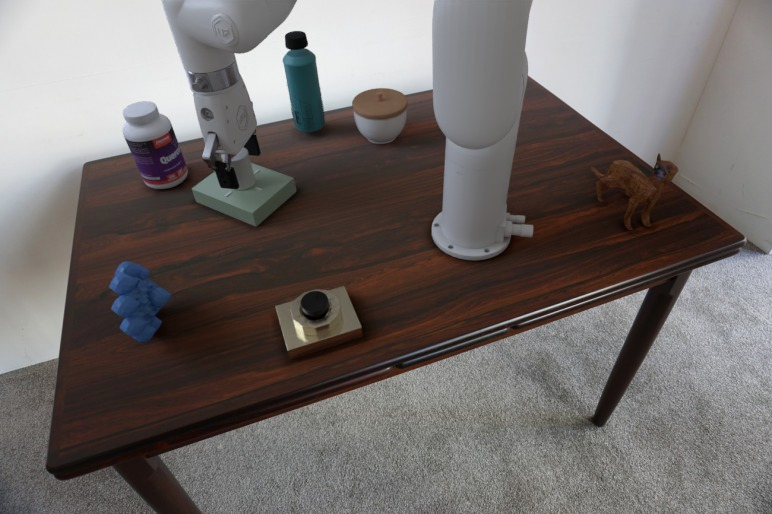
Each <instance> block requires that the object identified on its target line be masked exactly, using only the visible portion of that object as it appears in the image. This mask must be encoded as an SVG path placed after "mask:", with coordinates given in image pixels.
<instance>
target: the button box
mask: <svg viewBox="0 0 772 514" xmlns="http://www.w3.org/2000/svg"><path fill="white" fill-rule="evenodd" d="M312 291H320V292H323V293H324V294H326V296H327V297H328V301H329V308H330V309H329V312H328V314H327V315H326V316H325V317H323V318H322V319H319V320H310V319H308V318H306V317H305V316H304V315H303V312H302V308H301V299H302V297H303V296H304V295H305V294H307V293H309V292H312ZM274 308H275V312H276V316H277V318H278V321H279V326H280V329H281V333H282V336H283V340H284V344H285V346H286V351H287V354H288V357H289V358H288V359H289V360H290V361H292V360H295V359H298V358H301V357H304V356H307V355H311V354H314V353H317V352H320V351H324V350H327V349H330V348H333V347H336V346H339V345H342V344H343V345H344V344H346V343H349V342H352V341H356V340H358V339H362V338H363V337H364V334H363V327H362V324H361V322H360V319H359V317H358V315H357V313H356V310H355V308H354V306H353V302H352V301H351V298H350V296H349V294H348V291H347V288H346V286H345V285H342V286H338V287H335V288H332V289H320V288H315V289H311V290H307V291H304V292H302V293H300V295H299V296H297V297H296V298H295V299H293V300H291V301H286V302H284V303H280V304H277V305H275V306H274Z"/></svg>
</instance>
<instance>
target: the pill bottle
mask: <svg viewBox="0 0 772 514" xmlns="http://www.w3.org/2000/svg"><path fill="white" fill-rule="evenodd" d="M122 116H123V118H124V120H125V123H124V124H123V126H122V135H123V137H124V140H125V142H126V144H127V147H128V149H129V151H130V153H131V155H132V158H133V160H134V163H135V164H136V167H137V169H138V171H139V174H140V176H141V179H142V180H143V182H144V184H145V185H146V186H147V187H148V188H151V189H154V190H166V189H167V190H168V189H171V188H174V187H177V186H178V185H179V184H182V183H183V182H184V181H185V180H186V178H187V177H188V174H189V169H188V165H187V163H186V161H185V157H184V155H183V152H182V149H181V147H180V144H179V141H178V138H177V135H176V133H175V130H174V127H173V124H172V122H171V119H170V118H169V117H168V116H166V115H165V114H163V113H160V111H159V108H158V106H157V104H156V103H155V102H153V101H150V100H141V101H137V102H134V103H130V104H129V105H127V106H126V107H124V108H123V110H122Z"/></svg>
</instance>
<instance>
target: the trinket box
mask: <svg viewBox="0 0 772 514" xmlns="http://www.w3.org/2000/svg"><path fill="white" fill-rule="evenodd" d="M351 103H352V104H351V105H352V106H351V107H352V110H353V119H354V123H355V126H356V128H357V130H358V131H359V133H360V134H361V135H362V136H363V137H364V138H365V139H366V140H367V141H368V142H370V143H372V144H375V145H385V144H389V143H392V142H393V141H395V140H396V139H397V137H398V136H399V135H400V134H401V133H402V132H403V130H404V128H405V126H406V123H407V115H408V106H409V105H408V103H409V101H408V97H407V96H406V95H405V94H404V93H403V92H401V91H399V90H397V89H394V88H388V87H387V88H386V87H376V88H371V89H366V90H364V91H361V92H359V93H358V94H356V95H355V96H354V97H353V99H352V102H351Z"/></svg>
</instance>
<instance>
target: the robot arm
mask: <svg viewBox="0 0 772 514" xmlns="http://www.w3.org/2000/svg"><path fill="white" fill-rule="evenodd" d="M297 1H298V0H161V5H162V7H163V11H164V14H165V16H166V20H167V23H168V26H169V28H170V32H171V35H172V38H173V41H174V44H175V47H176V51H177V53H178V56H179V58H180V63H181V65H182V68H183V71H184V74H185V77H186V80H187V83H188V86H189V89H190V91H191V92H192V97H193V103H194V107H195V108H194V109H195V113H196V117H197V121H198V125H199V129H200V132H201V135H202V137H203V141H204V144H205V145H204V149H203V152H202V158H201V159H202V161H203V162H204V163H205V164H206V165H207V167H208V168H209V169H211V170H212V171H214V172H215V173H216V176H217V179H218V182H219V185H220V187H221V188H226V189H238V188H239V183H238V179H237V176H236V173H235V170H234V167H231V156H232V154H233V155H236V154H238V153H239V152H240V151H241V149H242V148H243V147H244V148H246V149H247V150H248V154H249V157H250V156H251V157H253V156H254V157H259V156H260V155H261V153H262V151H261V148H260V144H259V140H258V136H257V127H258V121H257V116H256V114H255V110H254V103H253V101H252V100H251V98H250V94H249V92H248V88H247V86H246V83H245V81H244V78H243V77H242V75H241V73H240V70H239V66H238V62H237V58H236V55H237V54H238V55H241V54H246V53H249V52H251V51H253V50H254V49H256V48H257V47H259V45H260V44H261V43H262V42H264V41H265V40H266V39H267V38H268V36H270V35H271V34H273V32H274V31H275V30H276V29H278V28H279V27H280V26H281V25H282V24H283V23H284V22H286V20H287V19H288V17H289V16H290V14H291V13H292V11H293V10H294V7H295V5H296V3H297ZM533 1H534V0H434V2H433V8H432V9H433V10H432V19H431V20H432V21H431V47H432V49H431V50H432V51H431V52H432V57H431V58H432V105H433V106H432V107H433V112H434V117H435V120H436V124H437V125H438V127H439V129H440V131H441V132H442V133H443V135H444V136H445V149H444V150H445V151H444V153H445V154H444V171H443V187H442V189H443V190H442V207H441V208H442V209H441V211H440V212H439V213H437V215H436V216H435V218H434V219H433V221H432V223H431V237H432V240H433V242H434V244H435V245H436V246H437V248H439V249H440V250H441V251H442V252H443V253H445V254H446V255H449V256H451V257H453V258H456V259H460V260H465V261H485V260H488V259H492V258H494V257H496V256H498V255H500V254H501V253H503V252H504V251H505V250H507V248H508V246H509V245H510V242H511V239H512V236H518V237H520V238H521V237H522V238H530V239H531V238H533V235H534V224H527V223H526V224H525V222H526V215H521V214H515V215H514V214H511V213H510V212H508V211H507V209H508V208H507V207H508V204H507V201H508V193H509V188H510V181H511V175H512V168H513V162H514V157H515V151H516V145H517V140H518V134H519V127H520V122H521V116H522V112H523V111H522V110H523V106H524V105H523V104H524V99H525V94H526V88H527V85H528V84H527V83H528V76H529V61H528V55H527V52H526V46H527V45H526V43H527V35H528V26H529V20H530V13H531V9H532V6H533V3H534V2H533ZM235 54H236V55H235ZM220 147H222V148H223V149H219V148H220ZM222 154H225V162H223V161H222V160H219V155H222Z"/></svg>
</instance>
